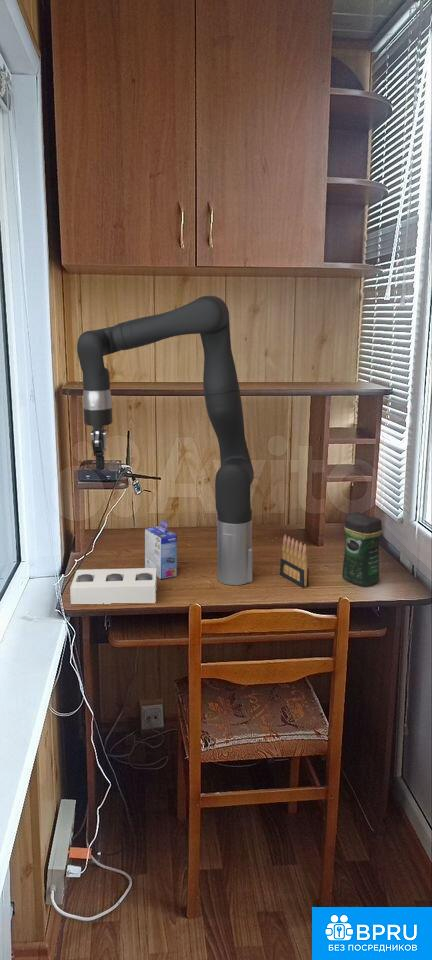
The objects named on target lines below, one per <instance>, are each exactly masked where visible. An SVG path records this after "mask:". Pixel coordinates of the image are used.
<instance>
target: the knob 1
mask: <svg viewBox="0 0 432 960" xmlns="http://www.w3.org/2000/svg"><path fill="white" fill-rule="evenodd" d="M78 582H93V578H92V575H90V574H83V575H80V576H79V577H78Z"/></svg>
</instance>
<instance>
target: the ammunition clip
mask: <svg viewBox="0 0 432 960" xmlns="http://www.w3.org/2000/svg"><path fill="white" fill-rule="evenodd" d="M279 561H280V564H279V566H280V567H279V576H281V577H282V578H284V579H287V580H288V581H289V582H291V583H293V584H295V585H297V586H298V587H301V589H304V588H308V587H309V580H310V579H309V578H310V577H309V575H310V573H309V570H310V569H309V567H308V548H307V544H306V543H304V544H303V542H302V541H300V542H299V540H298V539H296V540H295V538H294V537H292V538H291V536H290V535H288V537H287V535H286V533H285V534H284V535H283V540H282V548H281V557H280V560H279Z"/></svg>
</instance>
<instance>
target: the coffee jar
mask: <svg viewBox="0 0 432 960" xmlns="http://www.w3.org/2000/svg"><path fill="white" fill-rule="evenodd" d="M346 515H347V516H346V517H345V522H344V525H343V527H344V528H343V530H344V534H345V547H344V548H345V549H344V557H343V563H342V564H343V565H342V579H344V580H345V581H347V582H349V583H352V584H354V585H356V586H361V587H365V586H370V587H371V586H374V585H375V584H377V583H378V582H379V581H380V555H379V554H380V549H379V548H380V545H379V544H380V538H381V536H382V535H381V534H382V533H383V529H382V528H383V527H382V526H383V525H382V519H380V518H379V517H375V516H374V517H373V516H370V515H367V514H364V513H361V512H357V511H356V512H352V513H349V514H346Z"/></svg>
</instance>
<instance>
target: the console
mask: <svg viewBox="0 0 432 960" xmlns="http://www.w3.org/2000/svg"><path fill="white" fill-rule="evenodd" d="M141 573H149V574H151V580H137V575H138V574H141ZM83 574H90V575H92V578H93V582H78V577H79V576H80V575H83ZM110 574H121V575H122V581H108V575H110ZM73 576H74V577H73V579H72V582H71V583H70V587H69V590H70V591H69V592H70V593H69V594H70V605H71V604H103V603H104V604H111V603H155V602H156V603H157V593H156V591H157V589H158V577H157V568H145V567H139V568H138V567H137V568H133V567H132V568H102V569H101V568H98V569H96V568H95V569H92V568H91V569H76V570H75V574H74V575H73Z"/></svg>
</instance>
